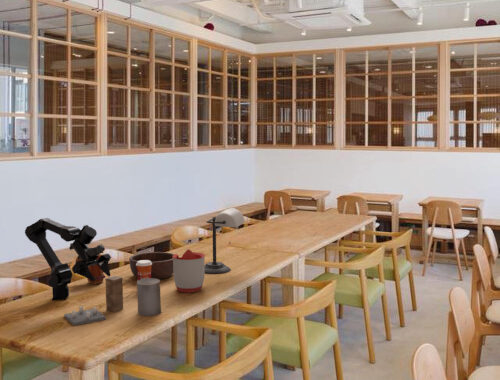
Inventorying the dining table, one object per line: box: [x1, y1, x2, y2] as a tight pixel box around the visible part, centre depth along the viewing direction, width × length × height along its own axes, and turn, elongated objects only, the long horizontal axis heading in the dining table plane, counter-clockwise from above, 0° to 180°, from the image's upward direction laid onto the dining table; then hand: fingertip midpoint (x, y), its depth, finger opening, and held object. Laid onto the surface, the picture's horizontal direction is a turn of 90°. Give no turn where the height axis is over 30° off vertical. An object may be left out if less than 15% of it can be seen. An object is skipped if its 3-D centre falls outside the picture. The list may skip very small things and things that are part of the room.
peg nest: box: [64, 306, 107, 326], centre depth 234 cm, size 13×13×4 cm
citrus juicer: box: [172, 248, 206, 294], centre depth 275 cm, size 16×17×20 cm
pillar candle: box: [136, 278, 162, 317], centre depth 240 cm, size 10×10×15 cm
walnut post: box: [104, 275, 124, 313], centre depth 244 cm, size 5×5×14 cm
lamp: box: [204, 207, 246, 275], centre depth 311 cm, size 26×24×34 cm
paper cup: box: [136, 260, 152, 281], centre depth 274 cm, size 8×8×14 cm
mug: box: [74, 253, 106, 285], centre depth 288 cm, size 15×8×15 cm, turn 92°
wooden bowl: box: [128, 251, 175, 280], centre depth 302 cm, size 25×25×10 cm
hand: (102, 278), depth 247 cm, fingers open, 9 cm apart
